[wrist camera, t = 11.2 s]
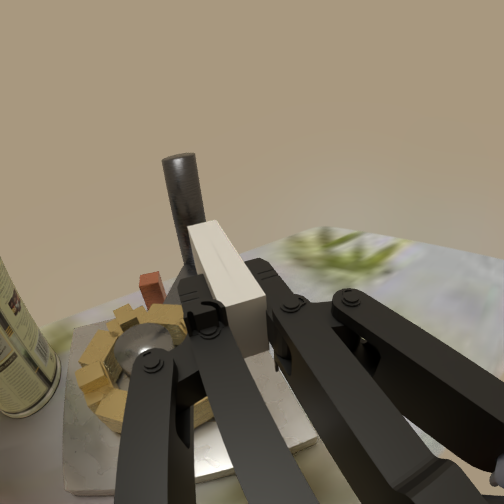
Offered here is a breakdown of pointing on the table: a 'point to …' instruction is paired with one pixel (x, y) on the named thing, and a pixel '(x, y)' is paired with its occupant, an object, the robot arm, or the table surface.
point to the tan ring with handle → (167, 314)
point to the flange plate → (125, 351)
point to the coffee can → (23, 356)
